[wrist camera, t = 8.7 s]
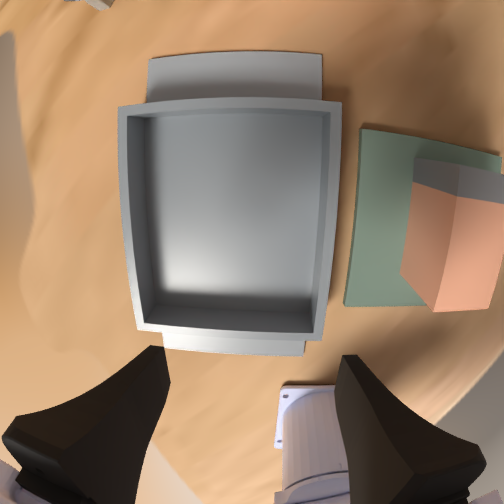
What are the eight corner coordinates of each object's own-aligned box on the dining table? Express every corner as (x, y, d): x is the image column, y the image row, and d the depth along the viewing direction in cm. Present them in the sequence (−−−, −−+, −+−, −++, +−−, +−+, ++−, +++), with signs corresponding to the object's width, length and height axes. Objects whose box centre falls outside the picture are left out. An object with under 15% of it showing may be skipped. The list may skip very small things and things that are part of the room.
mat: (471, 299, 21) (474, 303, 20) (342, 302, 21) (344, 306, 21) (497, 156, 17) (501, 157, 16) (359, 129, 17) (362, 128, 17)
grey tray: (310, 354, 23) (314, 381, 20) (158, 344, 24) (146, 369, 21) (330, 56, 16) (340, 41, 13) (142, 61, 17) (121, 50, 13)
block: (449, 273, 19) (488, 308, 14) (399, 273, 20) (433, 312, 15) (466, 167, 17) (515, 178, 12) (414, 157, 17) (459, 164, 12)
